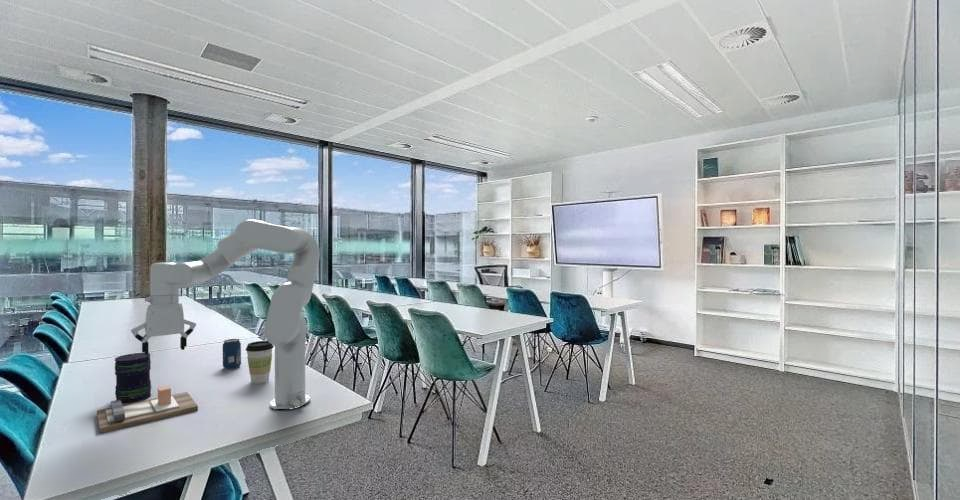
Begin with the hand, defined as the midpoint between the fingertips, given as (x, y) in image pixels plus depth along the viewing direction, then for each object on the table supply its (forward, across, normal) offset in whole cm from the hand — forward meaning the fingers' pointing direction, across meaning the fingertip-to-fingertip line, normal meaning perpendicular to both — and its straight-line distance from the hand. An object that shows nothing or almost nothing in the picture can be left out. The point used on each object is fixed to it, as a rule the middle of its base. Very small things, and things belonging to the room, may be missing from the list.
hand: (164, 351), depth 141 cm
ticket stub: (+17, 0, 0) cm, 17 cm away
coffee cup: (+19, +32, +8) cm, 38 cm away
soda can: (+19, +28, +36) cm, 50 cm away
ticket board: (+19, -4, 0) cm, 20 cm away
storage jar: (+20, -7, +19) cm, 28 cm away
